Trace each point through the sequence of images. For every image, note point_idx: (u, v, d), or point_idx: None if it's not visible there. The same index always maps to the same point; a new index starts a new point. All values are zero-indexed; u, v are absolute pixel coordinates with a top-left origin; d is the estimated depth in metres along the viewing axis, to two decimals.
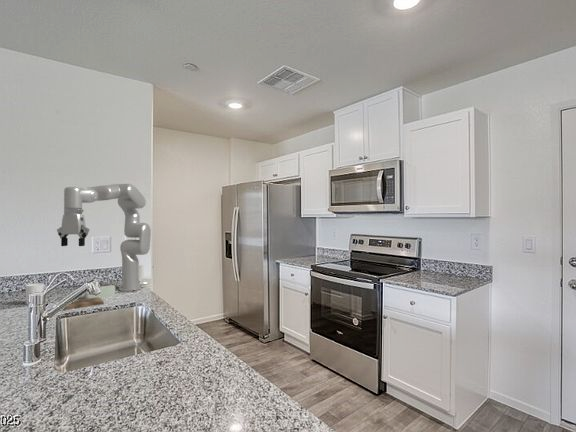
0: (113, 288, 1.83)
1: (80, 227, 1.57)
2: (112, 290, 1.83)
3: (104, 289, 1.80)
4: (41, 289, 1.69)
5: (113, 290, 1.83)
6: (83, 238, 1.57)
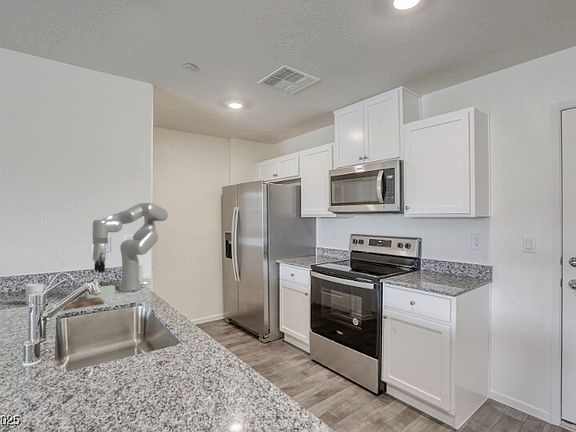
0: (113, 288, 1.83)
1: None
2: (112, 290, 1.83)
3: (104, 289, 1.80)
4: (41, 289, 1.69)
5: (113, 290, 1.83)
6: None
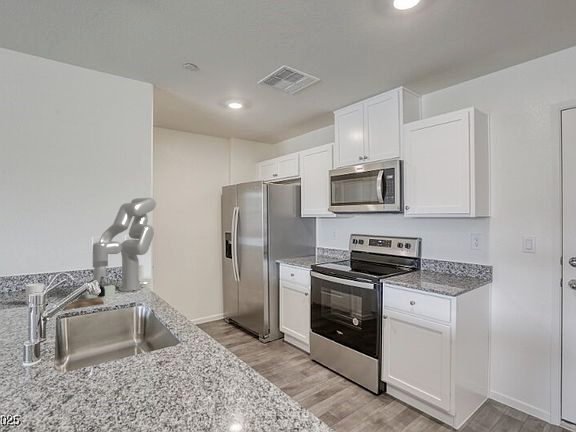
0: (113, 288, 1.83)
1: None
2: (112, 290, 1.83)
3: None
4: (41, 289, 1.69)
5: (113, 290, 1.83)
6: None
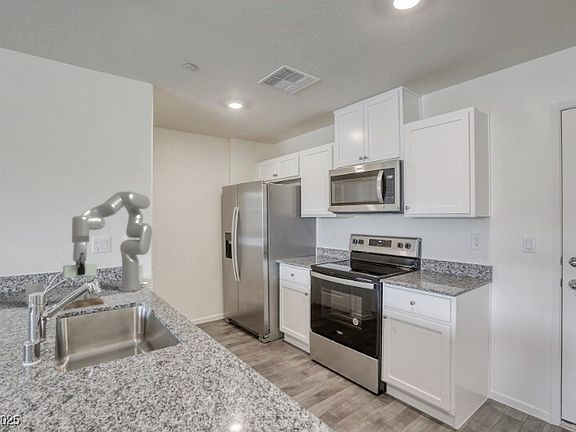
0: (94, 266, 1.67)
1: None
2: (93, 268, 1.67)
3: None
4: (41, 289, 1.69)
5: (94, 268, 1.67)
6: None
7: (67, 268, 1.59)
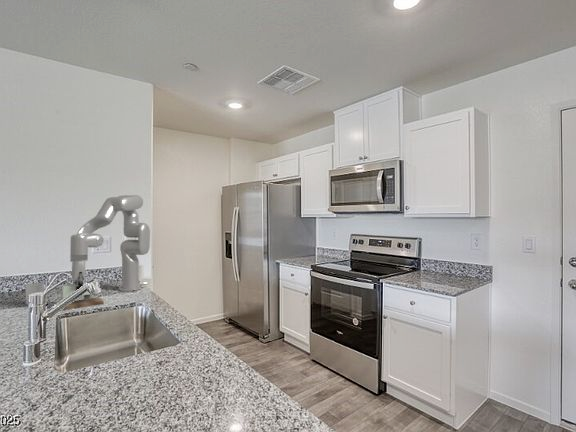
0: None
1: None
2: None
3: None
4: (41, 289, 1.69)
5: None
6: None
7: (65, 288, 1.58)
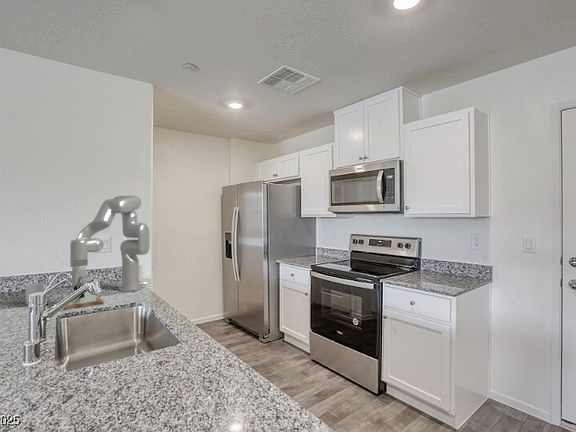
0: None
1: None
2: None
3: None
4: (41, 289, 1.69)
5: None
6: None
7: (66, 296, 1.58)
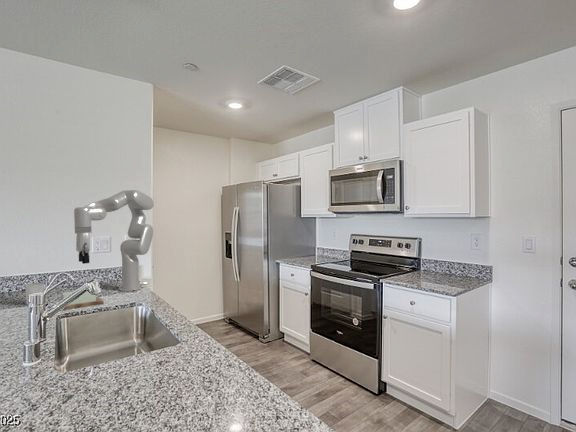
0: None
1: None
2: None
3: None
4: (41, 289, 1.69)
5: None
6: None
7: (66, 296, 1.58)
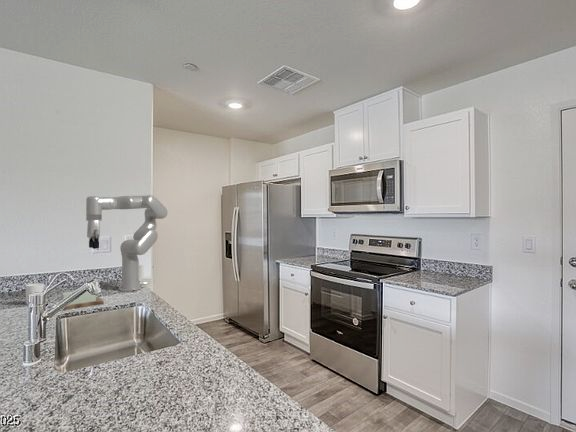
0: None
1: None
2: None
3: None
4: (41, 289, 1.69)
5: None
6: None
7: (66, 296, 1.58)
